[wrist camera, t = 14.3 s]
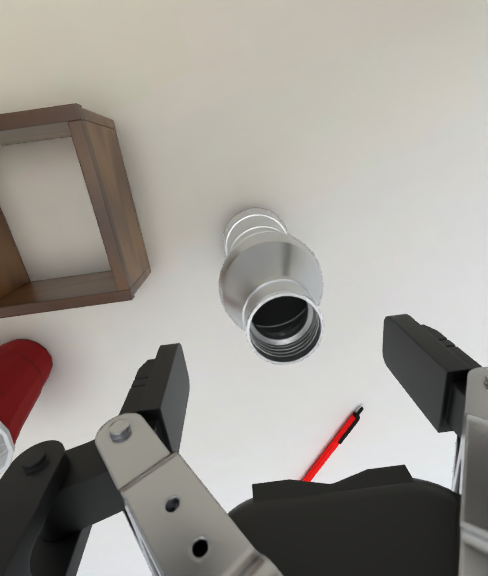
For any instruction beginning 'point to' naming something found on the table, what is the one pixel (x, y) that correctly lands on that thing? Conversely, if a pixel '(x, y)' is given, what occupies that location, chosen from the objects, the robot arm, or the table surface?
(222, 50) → the table surface
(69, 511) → the robot arm
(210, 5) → the table surface
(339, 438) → the pen
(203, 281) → the table surface
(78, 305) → the wooden box
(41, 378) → the plastic cup
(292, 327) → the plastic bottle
